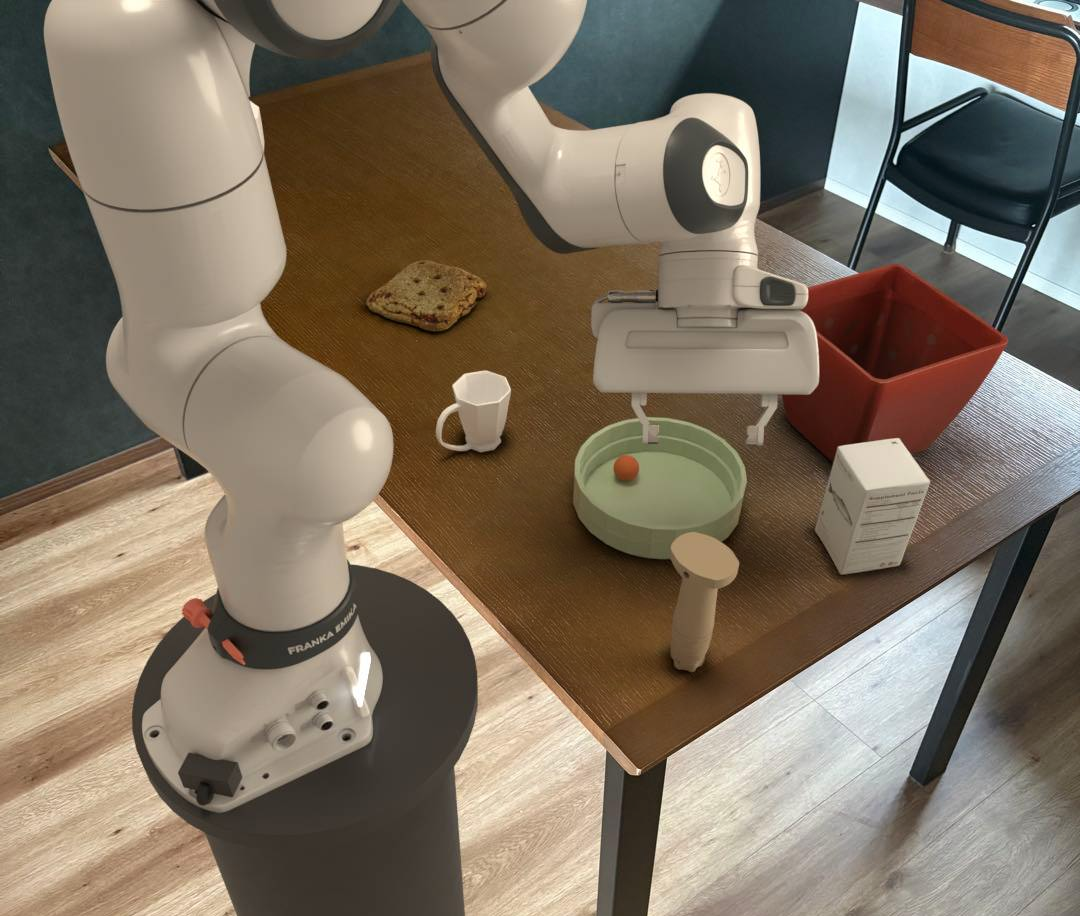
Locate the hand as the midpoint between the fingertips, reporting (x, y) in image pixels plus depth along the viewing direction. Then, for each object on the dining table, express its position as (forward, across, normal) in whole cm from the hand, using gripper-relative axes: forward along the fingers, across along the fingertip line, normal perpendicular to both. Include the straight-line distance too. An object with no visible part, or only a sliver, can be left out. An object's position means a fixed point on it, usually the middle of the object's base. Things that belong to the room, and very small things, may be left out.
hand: (701, 444), depth 99 cm
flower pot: (0, +21, +38) cm, 43 cm away
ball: (+4, -7, +26) cm, 27 cm away
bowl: (+8, -4, +24) cm, 26 cm away
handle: (+22, 0, +6) cm, 23 cm away
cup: (+2, -26, +30) cm, 40 cm away
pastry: (-17, -36, +55) cm, 68 cm away
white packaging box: (+12, +18, +21) cm, 31 cm away
